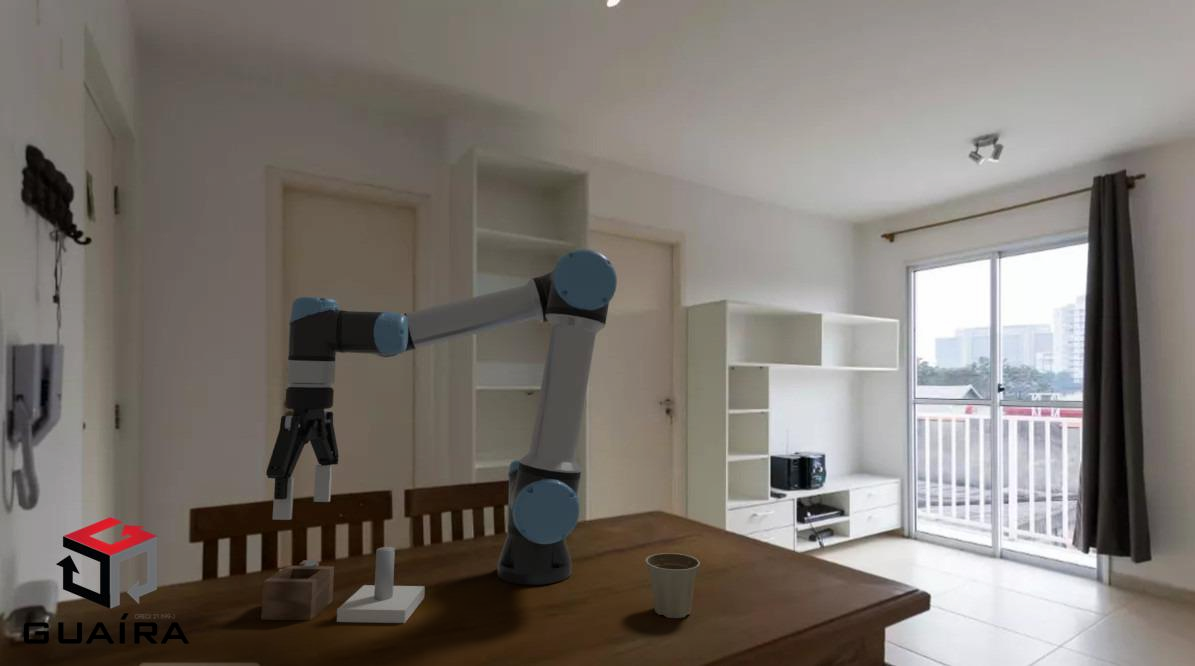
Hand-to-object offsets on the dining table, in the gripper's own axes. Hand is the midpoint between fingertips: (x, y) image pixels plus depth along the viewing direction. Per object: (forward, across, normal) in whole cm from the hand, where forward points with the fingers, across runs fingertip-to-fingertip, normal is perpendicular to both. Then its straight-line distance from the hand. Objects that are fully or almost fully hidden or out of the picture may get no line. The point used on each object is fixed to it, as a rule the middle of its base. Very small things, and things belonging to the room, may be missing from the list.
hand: (303, 509), depth 100 cm
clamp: (+17, -14, -7) cm, 23 cm away
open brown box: (+17, 0, 0) cm, 17 cm away
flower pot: (+17, -2, +64) cm, 66 cm away
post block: (+17, -1, +14) cm, 22 cm away
